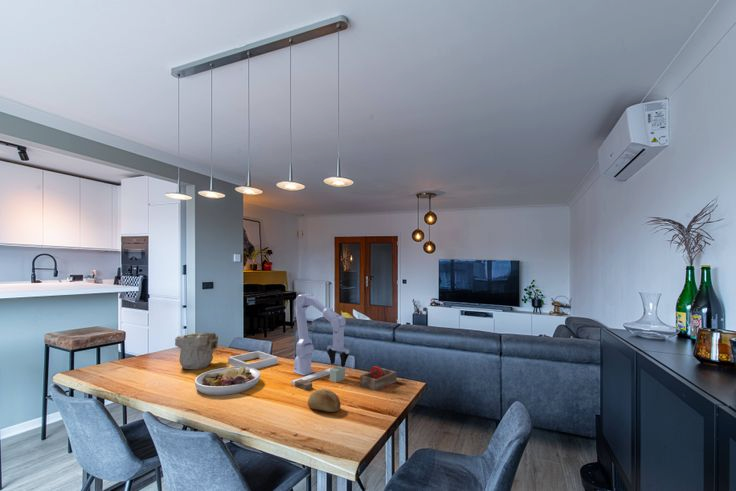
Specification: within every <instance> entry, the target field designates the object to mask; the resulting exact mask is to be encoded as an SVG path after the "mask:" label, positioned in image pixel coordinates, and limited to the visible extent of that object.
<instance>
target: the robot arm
mask: <svg viewBox="0 0 736 491" xmlns="http://www.w3.org/2000/svg"><path fill="white" fill-rule="evenodd" d="M294 301H295V308H294V310H295V318H296V326H297V333H298V341H297V343H296V344H295V346H296V348H295V355H296V357H295V358H294V361H293V362H294V366H293V367H294V368H293V371H292V373H295V374H297V375H301V376H308V375H311V374H314V373H315V370H312V356H313V354H314V352H315V346H314V344H313V340H312V339H311V338H309V337H310V336H309V331H308V330H309V328H308V322H307V313H306V310H308V309H309V307H310V306H312V307H314V308H315V309H317V310H318V311H320V312H321V313H322V317H323V318H324V319H326V320H327V321H328V322H329V323H330V325H331V327H332V344H331V345H330V344H329V345H327V349H326V353H327V355H328V357H329V360H330V364H331V365H333V364H335V363H336V362H335V361H336V355H337V352H338V353H339V358H340V367H344V368H345V367H346V363H347V360H348V358H349V356H350V349H349V348H346V347H345V346H344V345H345V344H344V343H345V341H344V340H345V338H344V336H345V325H346V324H347V320H346V318H345V317H344V315H340V314H339V313H337V312H335V311H334V310H333V308H332V307H331V308H330V307H326V306H325V305H324V304H323V303H322V302H321V301H320V300H319V299H318V298H317V296H315V295H314V294H313V293H311V292H310V293H305V294H304V293H303V294H301V293H300V294H298V295H297V296H296V298H295V300H294Z"/></svg>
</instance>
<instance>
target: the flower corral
mask: <svg viewBox="0 0 736 491" xmlns="http://www.w3.org/2000/svg"><path fill="white" fill-rule="evenodd" d="M254 359H259V360H257V361H253V362H246V361H249V360H254ZM227 361H228V362H227V364H228V365H229V366H231V367H249V368H254V369H256V370H260V369H262V368H266V367H270V366H273V365H277V364H278V363H279V362H278V361H279V356H276V355H272V354H269V353H267V352H263V351H261V350H256V351H252V352H245V353H242V354H238V355H233V356H232V355H231V356H228V358H227Z"/></svg>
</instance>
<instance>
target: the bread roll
mask: <svg viewBox="0 0 736 491" xmlns="http://www.w3.org/2000/svg"><path fill="white" fill-rule="evenodd" d="M307 406H308V408H310V409H313V410H319V411H323V412H328V413H329V412H330V413H334V412H338V411H339V410H340V409H341V400H340V398H339V396H338V395H337V394H336V393H335V392H334V391H332V390H330V389H325V388H320V389H317V390H315V391H312V392H311V393H310V395H309V397H308V399H307Z"/></svg>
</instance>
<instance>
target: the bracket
mask: <svg viewBox="0 0 736 491" xmlns="http://www.w3.org/2000/svg"><path fill="white" fill-rule="evenodd" d="M380 368H381V367H379V366H378V365H377V366H376V365H375V366H374V365H373V366H372V367H371V368H369V372H374V371H377V372H378V375H377V376H376V375H375V374H373V379H378V378H380V377H382V370H381V369H380ZM391 385H392V384H391V383H390V384H388V385H386V387H385V388H389V387H390V386H391Z"/></svg>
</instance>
